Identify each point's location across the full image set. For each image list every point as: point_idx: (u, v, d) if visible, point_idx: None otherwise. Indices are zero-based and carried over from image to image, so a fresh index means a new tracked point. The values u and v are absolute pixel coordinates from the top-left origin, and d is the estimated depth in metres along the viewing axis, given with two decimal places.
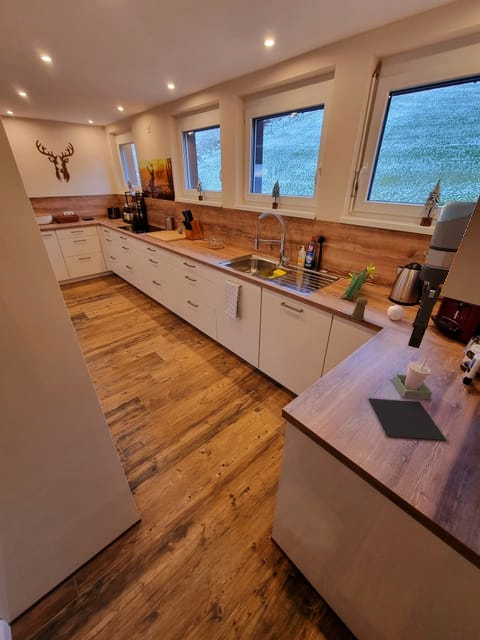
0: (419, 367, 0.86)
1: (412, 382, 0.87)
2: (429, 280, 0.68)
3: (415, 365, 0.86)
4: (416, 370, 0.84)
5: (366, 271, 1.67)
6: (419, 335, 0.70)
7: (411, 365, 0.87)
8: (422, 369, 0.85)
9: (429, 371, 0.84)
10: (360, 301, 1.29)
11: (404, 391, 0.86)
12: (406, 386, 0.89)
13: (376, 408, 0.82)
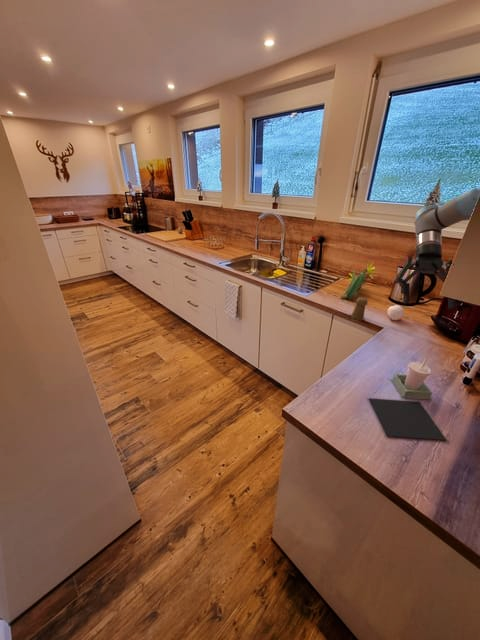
0: (419, 367, 0.86)
1: (412, 382, 0.87)
2: (415, 257, 0.92)
3: (415, 365, 0.86)
4: (416, 370, 0.84)
5: (366, 271, 1.67)
6: (402, 289, 0.88)
7: (411, 365, 0.87)
8: (422, 369, 0.85)
9: (429, 371, 0.84)
10: (360, 301, 1.29)
11: (404, 391, 0.86)
12: (406, 386, 0.89)
13: (376, 408, 0.82)
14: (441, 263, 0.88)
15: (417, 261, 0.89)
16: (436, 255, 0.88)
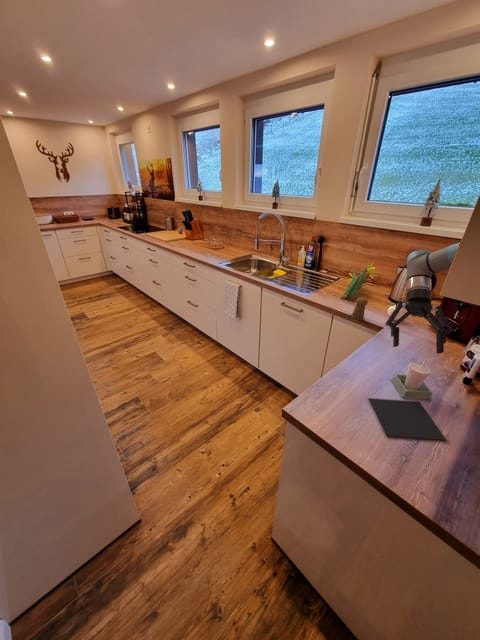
0: (419, 367, 0.86)
1: (412, 382, 0.87)
2: (406, 300, 0.95)
3: (415, 365, 0.86)
4: (416, 370, 0.84)
5: (366, 271, 1.67)
6: (392, 332, 0.91)
7: (411, 365, 0.87)
8: (422, 369, 0.85)
9: (429, 371, 0.84)
10: (360, 301, 1.29)
11: (404, 391, 0.86)
12: (406, 386, 0.89)
13: (376, 408, 0.82)
14: (430, 308, 0.91)
15: (407, 305, 0.93)
16: (425, 300, 0.91)
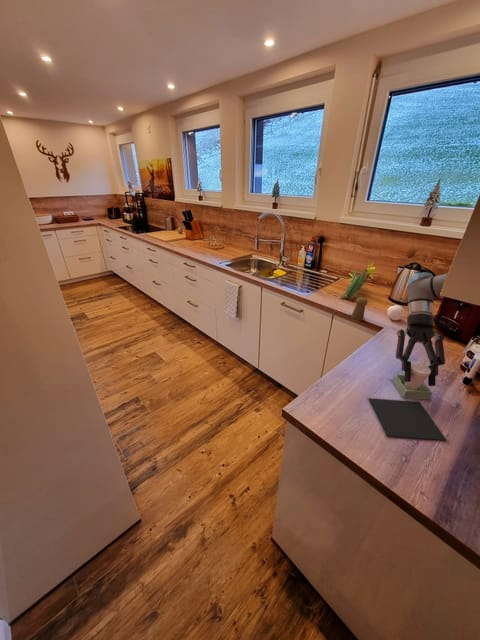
0: (419, 367, 0.86)
1: (412, 382, 0.87)
2: (407, 324, 0.92)
3: (415, 365, 0.86)
4: (416, 370, 0.84)
5: (366, 271, 1.67)
6: (403, 367, 0.86)
7: (411, 365, 0.87)
8: (422, 369, 0.85)
9: (429, 371, 0.84)
10: (360, 301, 1.29)
11: (404, 391, 0.86)
12: (406, 386, 0.89)
13: (376, 408, 0.82)
14: (432, 334, 0.87)
15: (408, 330, 0.89)
16: (427, 326, 0.87)
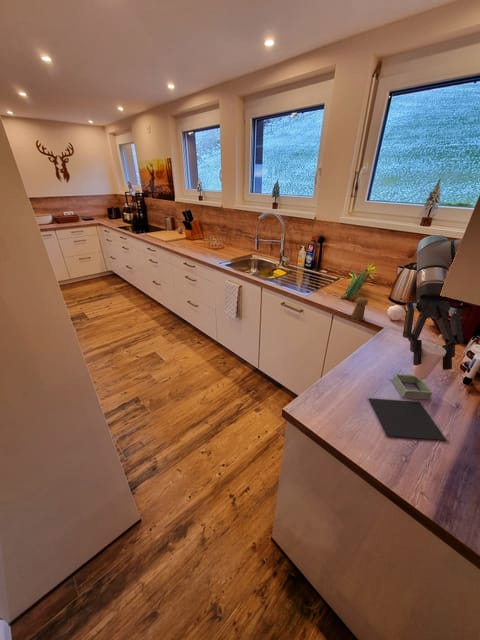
0: (431, 347, 0.70)
1: (423, 366, 0.71)
2: (416, 297, 0.76)
3: (426, 345, 0.71)
4: (428, 350, 0.69)
5: (366, 271, 1.67)
6: (412, 347, 0.71)
7: (422, 345, 0.71)
8: (435, 349, 0.69)
9: (444, 351, 0.69)
10: (360, 301, 1.29)
11: (404, 391, 0.86)
12: (415, 371, 0.74)
13: (376, 408, 0.82)
14: (448, 307, 0.72)
15: (418, 304, 0.74)
16: (442, 297, 0.72)
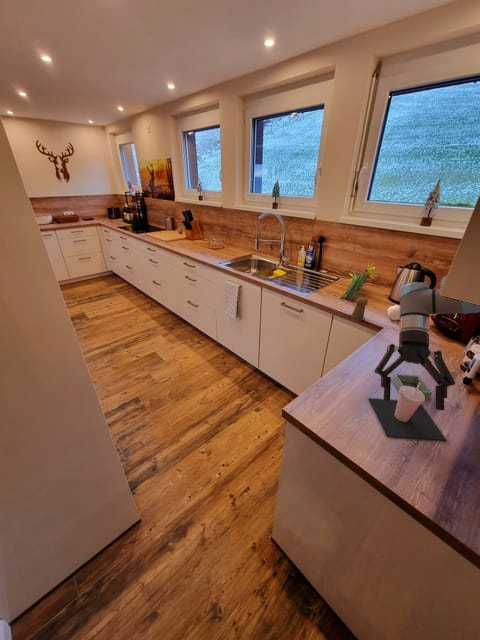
0: (411, 393, 0.74)
1: (404, 410, 0.75)
2: (399, 341, 0.80)
3: (407, 390, 0.75)
4: (408, 397, 0.73)
5: (366, 271, 1.67)
6: (382, 383, 0.76)
7: (402, 390, 0.76)
8: (415, 396, 0.74)
9: (423, 398, 0.73)
10: (360, 301, 1.29)
11: None
12: (397, 413, 0.78)
13: (376, 408, 0.82)
14: (428, 353, 0.76)
15: (400, 349, 0.77)
16: (422, 344, 0.76)
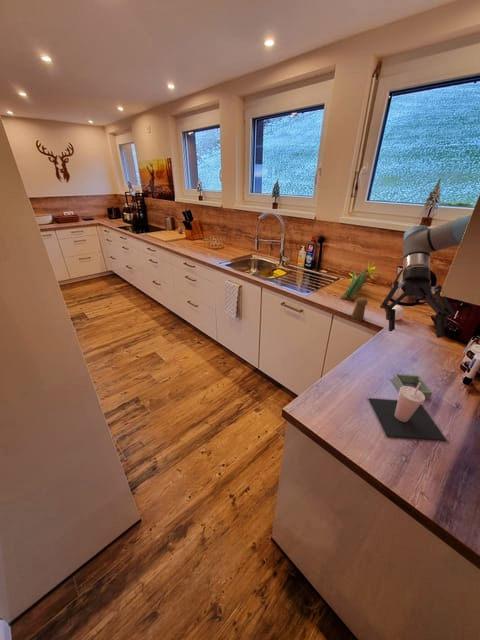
0: (411, 393, 0.74)
1: (404, 410, 0.75)
2: (402, 280, 0.87)
3: (407, 390, 0.75)
4: (408, 397, 0.73)
5: (367, 271, 1.67)
6: (387, 315, 0.82)
7: (402, 390, 0.76)
8: (415, 396, 0.74)
9: (423, 398, 0.73)
10: (360, 301, 1.29)
11: None
12: (397, 413, 0.78)
13: (376, 408, 0.82)
14: (429, 288, 0.82)
15: (404, 285, 0.84)
16: (424, 279, 0.82)
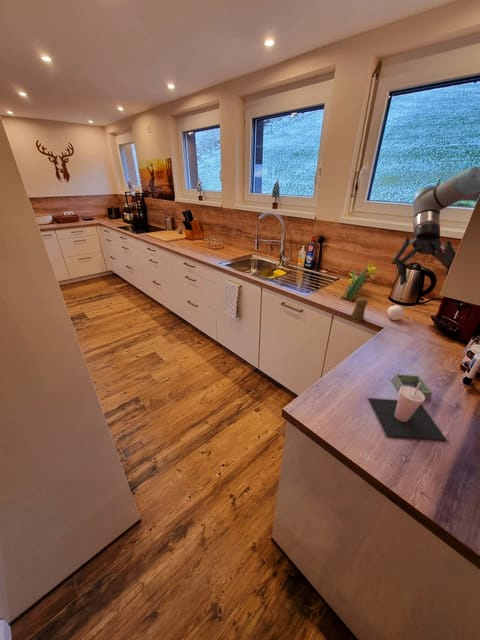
0: (411, 393, 0.74)
1: (404, 410, 0.75)
2: (413, 238, 0.91)
3: (407, 390, 0.75)
4: (408, 397, 0.73)
5: (367, 271, 1.67)
6: (399, 270, 0.87)
7: (402, 390, 0.76)
8: (415, 396, 0.74)
9: (423, 398, 0.73)
10: (360, 301, 1.29)
11: None
12: (397, 413, 0.78)
13: (376, 408, 0.82)
14: (439, 243, 0.87)
15: (415, 242, 0.88)
16: (434, 235, 0.87)
